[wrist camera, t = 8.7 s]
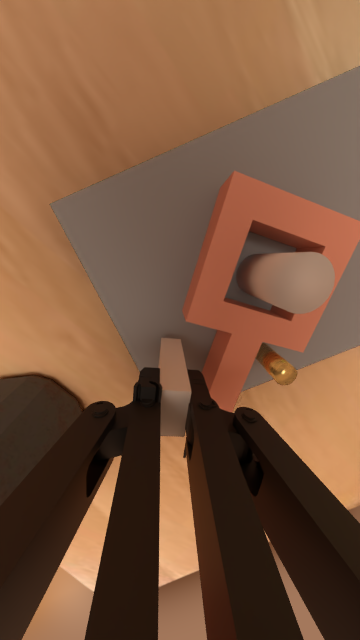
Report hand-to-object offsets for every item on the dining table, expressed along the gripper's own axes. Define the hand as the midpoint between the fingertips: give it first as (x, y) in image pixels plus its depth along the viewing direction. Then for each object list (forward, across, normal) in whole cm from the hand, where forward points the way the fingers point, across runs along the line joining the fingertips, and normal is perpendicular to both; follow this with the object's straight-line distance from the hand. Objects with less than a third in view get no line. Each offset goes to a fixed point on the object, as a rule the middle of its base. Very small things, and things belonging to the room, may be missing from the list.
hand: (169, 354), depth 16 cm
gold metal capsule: (+2, +8, 0) cm, 8 cm away
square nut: (+1, +6, +4) cm, 7 cm away
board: (+3, +6, +7) cm, 10 cm away
